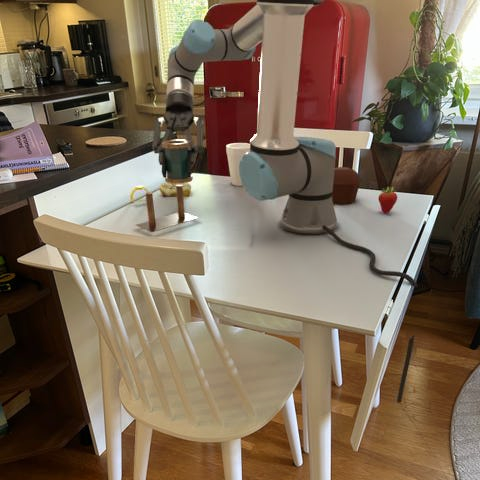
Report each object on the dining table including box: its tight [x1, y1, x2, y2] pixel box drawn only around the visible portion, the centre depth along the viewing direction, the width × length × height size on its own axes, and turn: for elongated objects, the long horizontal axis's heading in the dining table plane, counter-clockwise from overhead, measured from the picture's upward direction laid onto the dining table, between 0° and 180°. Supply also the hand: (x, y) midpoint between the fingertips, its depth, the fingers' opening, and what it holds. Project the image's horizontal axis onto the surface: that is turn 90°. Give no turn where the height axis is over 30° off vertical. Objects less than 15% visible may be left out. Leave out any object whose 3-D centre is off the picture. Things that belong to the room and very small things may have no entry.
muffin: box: [332, 166, 363, 206], centre depth 150 cm, size 12×11×10 cm
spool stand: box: [135, 185, 199, 233], centre depth 132 cm, size 16×8×10 cm, turn 133°
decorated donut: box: [159, 181, 192, 198], centre depth 161 cm, size 10×11×4 cm
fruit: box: [377, 186, 398, 214], centre depth 139 cm, size 5×5×8 cm
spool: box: [162, 138, 194, 184], centre depth 129 cm, size 7×7×10 cm
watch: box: [130, 184, 149, 203], centre depth 150 cm, size 6×3×6 cm, turn 119°
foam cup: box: [225, 142, 250, 187], centre depth 169 cm, size 10×9×13 cm
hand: (176, 174), depth 127 cm, fingers closed on spool, 6 cm apart
